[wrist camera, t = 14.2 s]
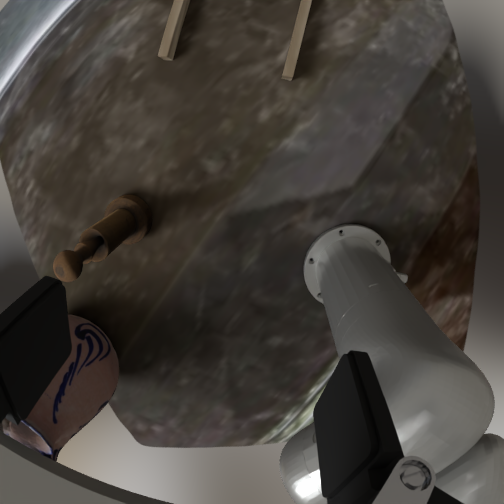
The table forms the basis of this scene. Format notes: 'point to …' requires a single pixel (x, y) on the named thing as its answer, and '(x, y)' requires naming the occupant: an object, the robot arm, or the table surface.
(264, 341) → the table surface
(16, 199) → the table surface
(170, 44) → the channel
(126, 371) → the table surface
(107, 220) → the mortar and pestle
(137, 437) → the table surface
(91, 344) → the ceramic pitcher
